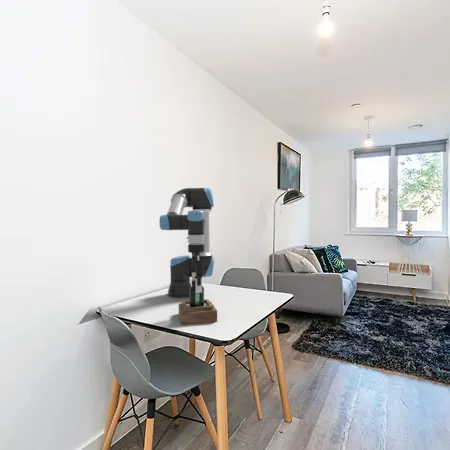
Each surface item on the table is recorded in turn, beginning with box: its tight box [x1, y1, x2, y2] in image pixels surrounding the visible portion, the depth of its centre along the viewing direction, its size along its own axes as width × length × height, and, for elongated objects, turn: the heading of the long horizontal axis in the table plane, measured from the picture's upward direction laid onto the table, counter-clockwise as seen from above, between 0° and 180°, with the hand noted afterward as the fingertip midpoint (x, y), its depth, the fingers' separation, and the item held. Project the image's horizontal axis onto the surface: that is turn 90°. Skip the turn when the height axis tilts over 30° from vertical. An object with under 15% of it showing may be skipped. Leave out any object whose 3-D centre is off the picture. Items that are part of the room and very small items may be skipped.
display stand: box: [178, 299, 218, 326], centre depth 148 cm, size 16×16×6 cm
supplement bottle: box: [188, 279, 205, 307], centre depth 148 cm, size 7×7×12 cm
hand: (196, 289), depth 148 cm, fingers open, 13 cm apart
